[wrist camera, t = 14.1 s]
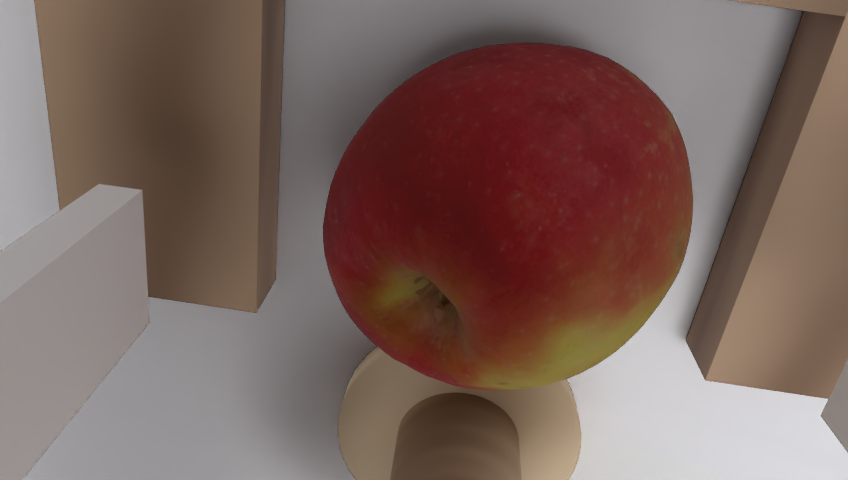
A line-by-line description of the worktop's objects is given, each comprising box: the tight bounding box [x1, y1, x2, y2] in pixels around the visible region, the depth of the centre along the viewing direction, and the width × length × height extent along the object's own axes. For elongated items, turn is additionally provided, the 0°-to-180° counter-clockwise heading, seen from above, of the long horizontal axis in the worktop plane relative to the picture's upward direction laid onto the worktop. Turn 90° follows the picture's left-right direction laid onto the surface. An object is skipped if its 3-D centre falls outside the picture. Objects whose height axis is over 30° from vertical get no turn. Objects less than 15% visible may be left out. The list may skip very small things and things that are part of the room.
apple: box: [323, 43, 693, 391], centre depth 15 cm, size 8×8×8 cm
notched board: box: [34, 0, 848, 399], centre depth 17 cm, size 24×13×2 cm, turn 83°
